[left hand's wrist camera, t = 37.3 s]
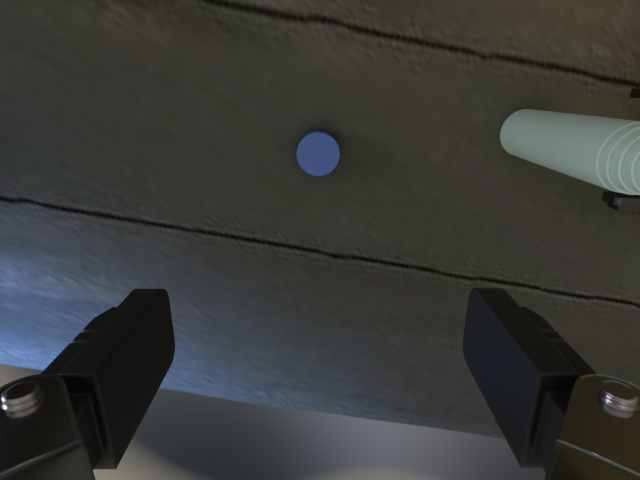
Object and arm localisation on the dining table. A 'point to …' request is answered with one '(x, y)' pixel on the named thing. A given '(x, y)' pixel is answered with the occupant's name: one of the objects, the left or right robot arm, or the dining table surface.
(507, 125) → the bottle
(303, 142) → the cap
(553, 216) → the dining table surface
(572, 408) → the left robot arm
